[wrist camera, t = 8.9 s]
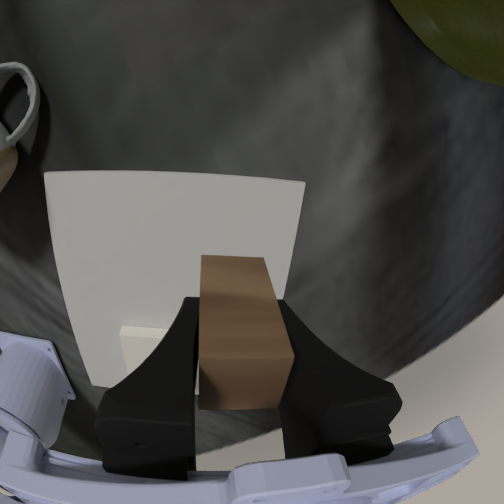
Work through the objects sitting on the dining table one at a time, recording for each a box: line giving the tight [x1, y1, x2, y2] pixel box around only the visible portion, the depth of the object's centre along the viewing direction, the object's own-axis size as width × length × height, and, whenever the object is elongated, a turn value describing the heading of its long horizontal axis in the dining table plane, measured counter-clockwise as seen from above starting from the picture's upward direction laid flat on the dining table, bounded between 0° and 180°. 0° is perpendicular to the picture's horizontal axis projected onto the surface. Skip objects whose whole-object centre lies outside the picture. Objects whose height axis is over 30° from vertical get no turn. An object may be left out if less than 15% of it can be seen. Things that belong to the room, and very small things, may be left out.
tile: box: [119, 325, 169, 375], centre depth 25 cm, size 1×6×7 cm
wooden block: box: [199, 255, 294, 410], centre depth 13 cm, size 3×3×6 cm
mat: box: [44, 171, 306, 394], centre depth 24 cm, size 22×18×1 cm
